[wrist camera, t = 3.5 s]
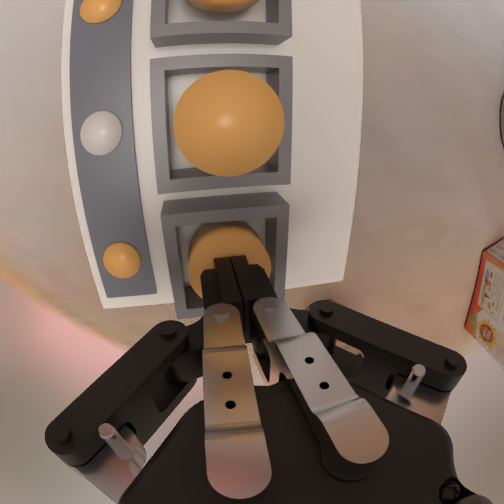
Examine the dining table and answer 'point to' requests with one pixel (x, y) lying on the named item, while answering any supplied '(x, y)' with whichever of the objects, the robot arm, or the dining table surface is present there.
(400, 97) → the dining table surface
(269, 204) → the button console
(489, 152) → the dining table surface
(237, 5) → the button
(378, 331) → the robot arm
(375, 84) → the dining table surface
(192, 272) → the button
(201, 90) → the middle button
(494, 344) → the cracker box
